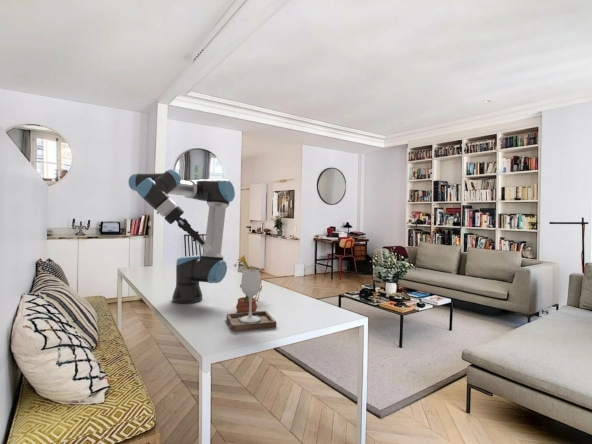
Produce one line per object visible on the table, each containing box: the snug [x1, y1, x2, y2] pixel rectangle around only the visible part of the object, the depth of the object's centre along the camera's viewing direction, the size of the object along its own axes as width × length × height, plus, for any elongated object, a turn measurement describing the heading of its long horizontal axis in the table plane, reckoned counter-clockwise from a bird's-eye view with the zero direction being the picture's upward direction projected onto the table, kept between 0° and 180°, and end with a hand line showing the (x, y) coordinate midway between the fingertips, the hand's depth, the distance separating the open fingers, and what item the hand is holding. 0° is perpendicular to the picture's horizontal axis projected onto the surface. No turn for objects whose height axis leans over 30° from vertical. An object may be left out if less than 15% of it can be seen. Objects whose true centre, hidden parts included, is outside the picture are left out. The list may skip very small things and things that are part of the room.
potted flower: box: [233, 259, 259, 313], centre depth 160 cm, size 12×10×25 cm
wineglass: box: [240, 269, 262, 323], centre depth 143 cm, size 9×9×21 cm
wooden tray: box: [225, 310, 277, 333], centre depth 143 cm, size 16×18×2 cm
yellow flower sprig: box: [237, 254, 263, 302], centre depth 178 cm, size 16×4×25 cm, turn 135°
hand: (207, 248), depth 142 cm, fingers open, 13 cm apart
